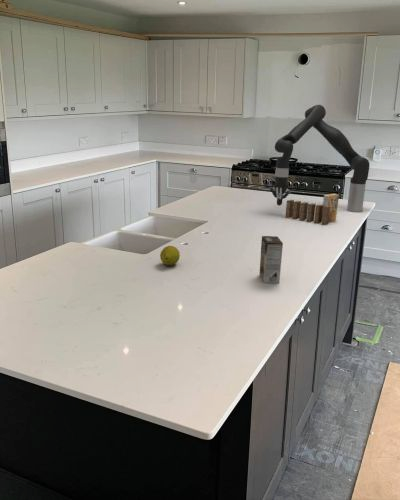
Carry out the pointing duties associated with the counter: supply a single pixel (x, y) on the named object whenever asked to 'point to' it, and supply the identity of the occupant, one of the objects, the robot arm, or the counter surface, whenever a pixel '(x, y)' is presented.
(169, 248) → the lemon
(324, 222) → the domino
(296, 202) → the domino
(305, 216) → the domino
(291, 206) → the domino
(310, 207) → the domino
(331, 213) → the candy box
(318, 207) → the domino
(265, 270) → the coffee box
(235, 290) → the counter surface
